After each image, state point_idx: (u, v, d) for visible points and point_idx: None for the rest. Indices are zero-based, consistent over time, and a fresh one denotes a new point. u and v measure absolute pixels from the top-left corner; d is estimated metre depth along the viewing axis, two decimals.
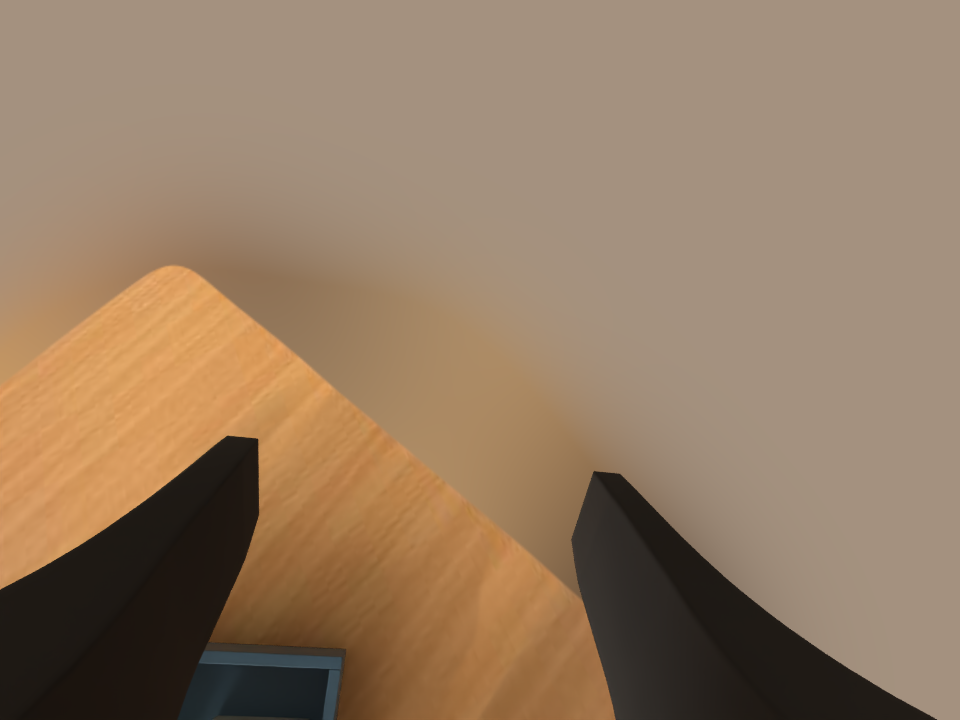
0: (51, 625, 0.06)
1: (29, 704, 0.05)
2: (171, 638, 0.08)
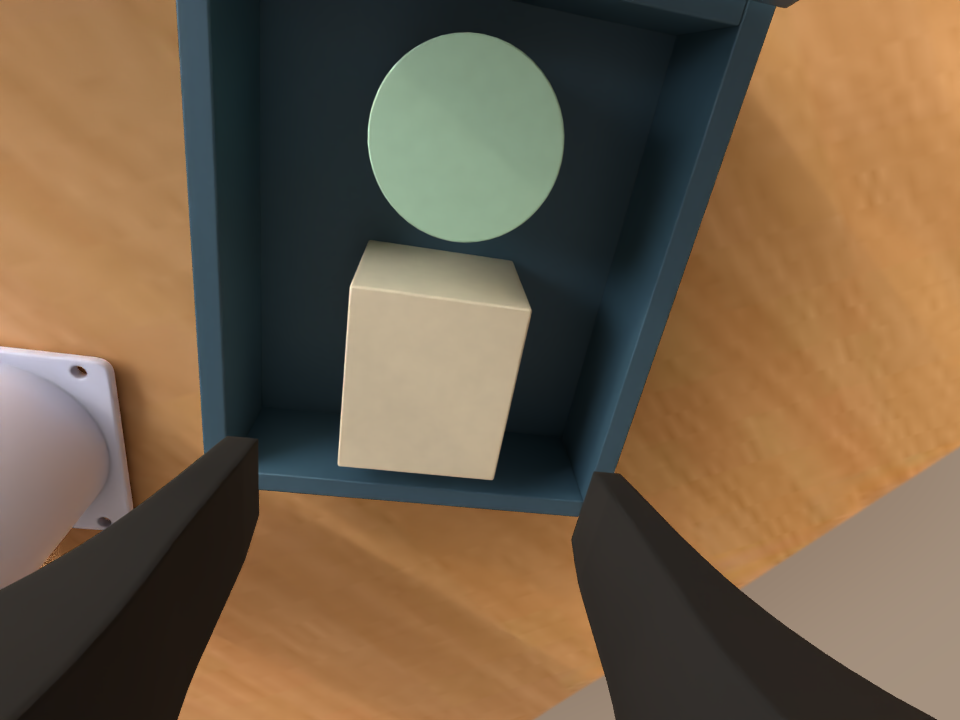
0: (50, 625, 0.06)
1: (29, 704, 0.05)
2: (171, 638, 0.08)
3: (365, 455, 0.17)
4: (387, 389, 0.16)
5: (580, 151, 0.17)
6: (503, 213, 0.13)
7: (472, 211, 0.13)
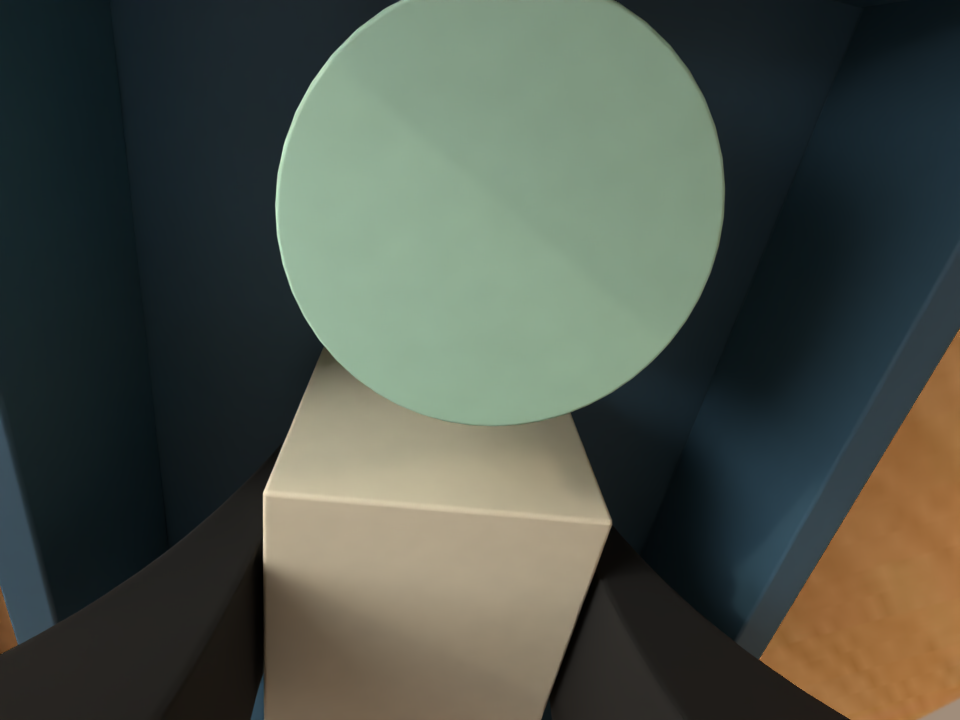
0: (160, 631, 0.06)
1: (163, 709, 0.05)
2: (250, 642, 0.08)
3: None
4: (344, 646, 0.09)
5: None
6: (577, 373, 0.06)
7: (513, 370, 0.06)
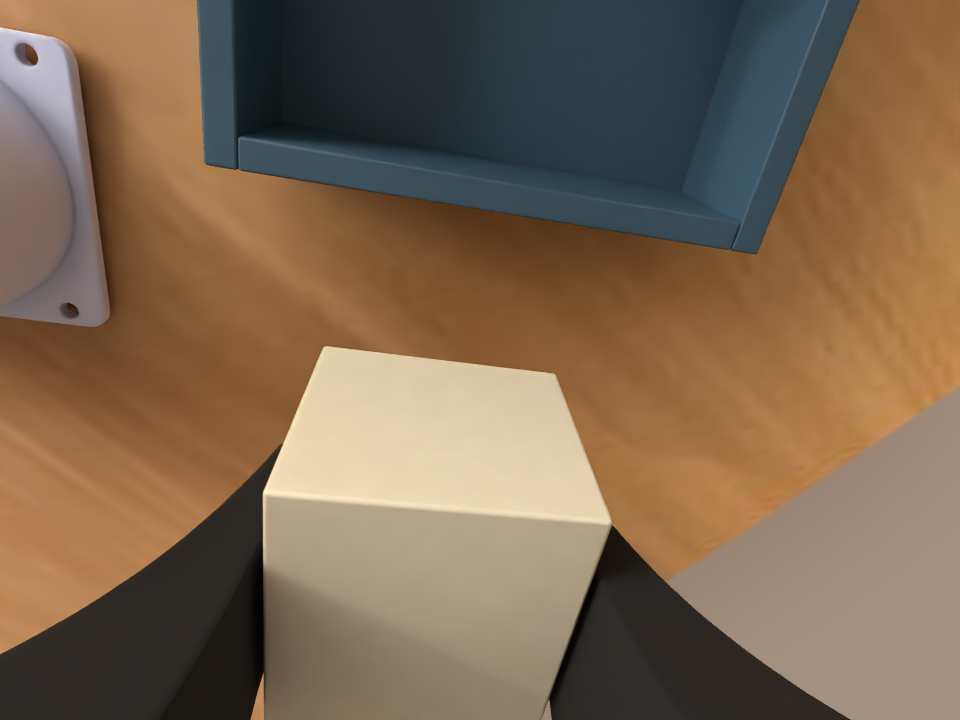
0: (160, 630, 0.06)
1: (163, 709, 0.05)
2: (250, 642, 0.08)
3: None
4: (344, 646, 0.09)
5: None
6: None
7: None
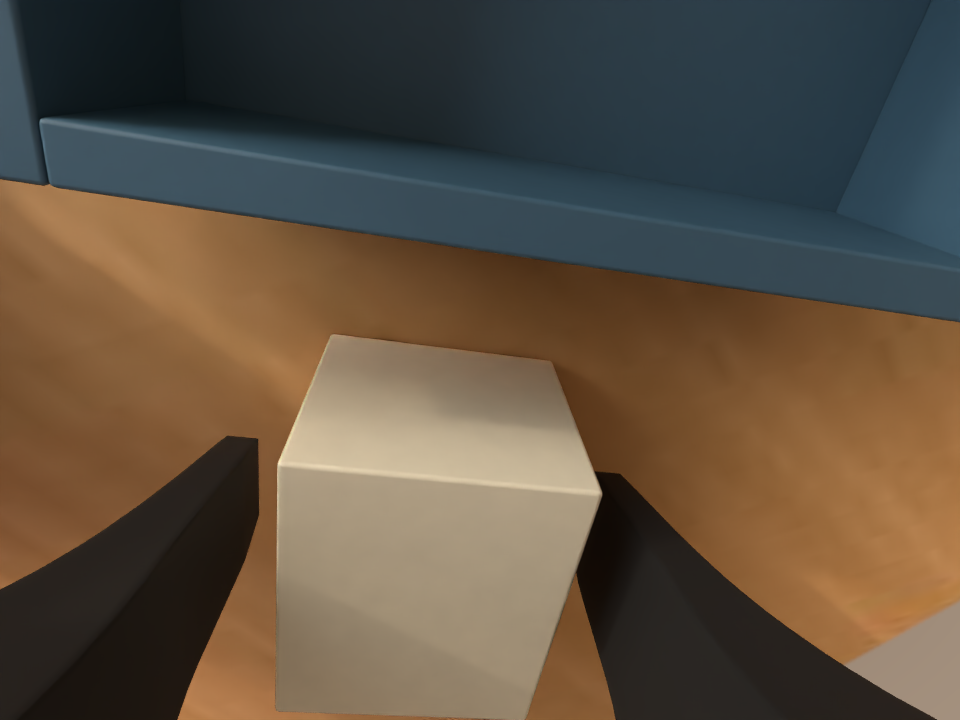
0: (51, 625, 0.06)
1: (29, 705, 0.05)
2: (171, 638, 0.08)
3: (319, 697, 0.10)
4: (351, 612, 0.09)
5: None
6: None
7: None
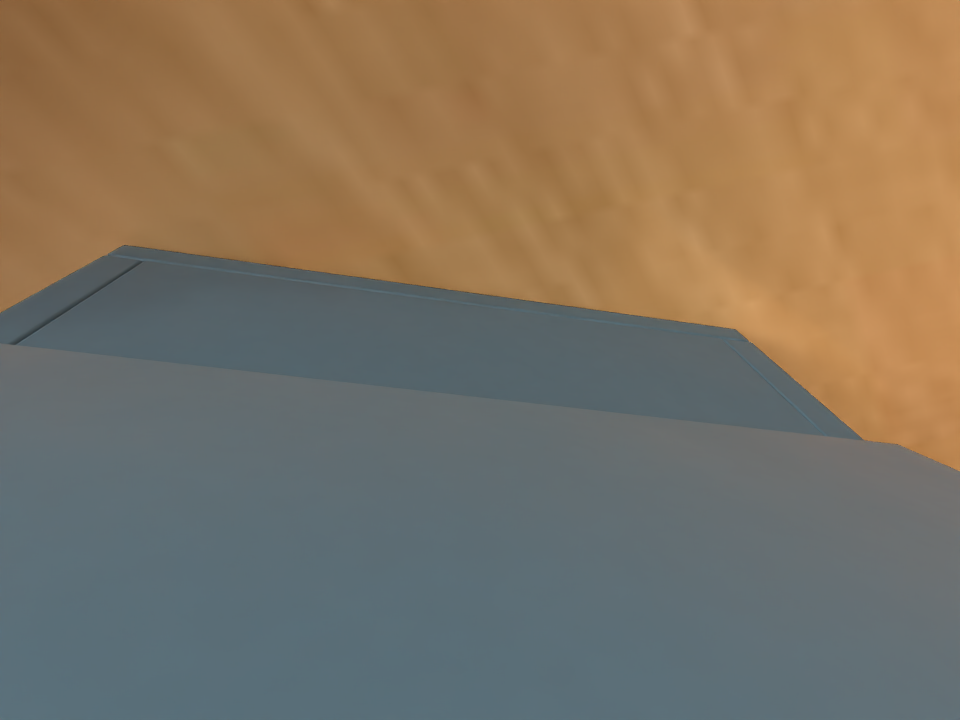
0: None
1: None
2: None
3: None
4: None
5: None
6: None
7: None
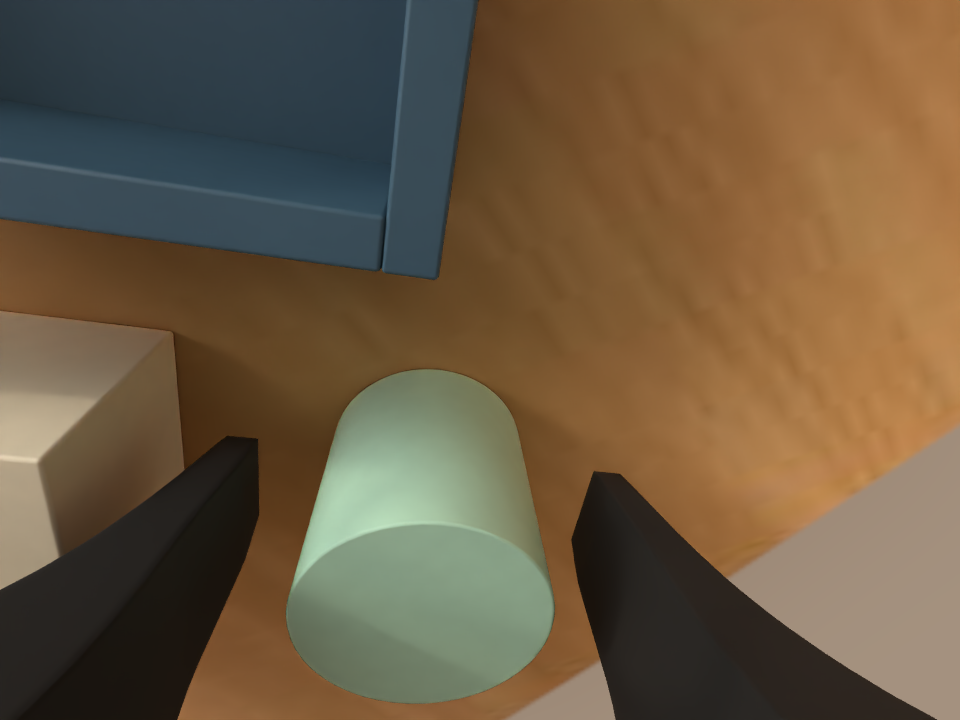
0: (52, 625, 0.06)
1: (30, 704, 0.05)
2: (171, 638, 0.08)
3: None
4: None
5: None
6: (474, 678, 0.10)
7: (433, 678, 0.10)
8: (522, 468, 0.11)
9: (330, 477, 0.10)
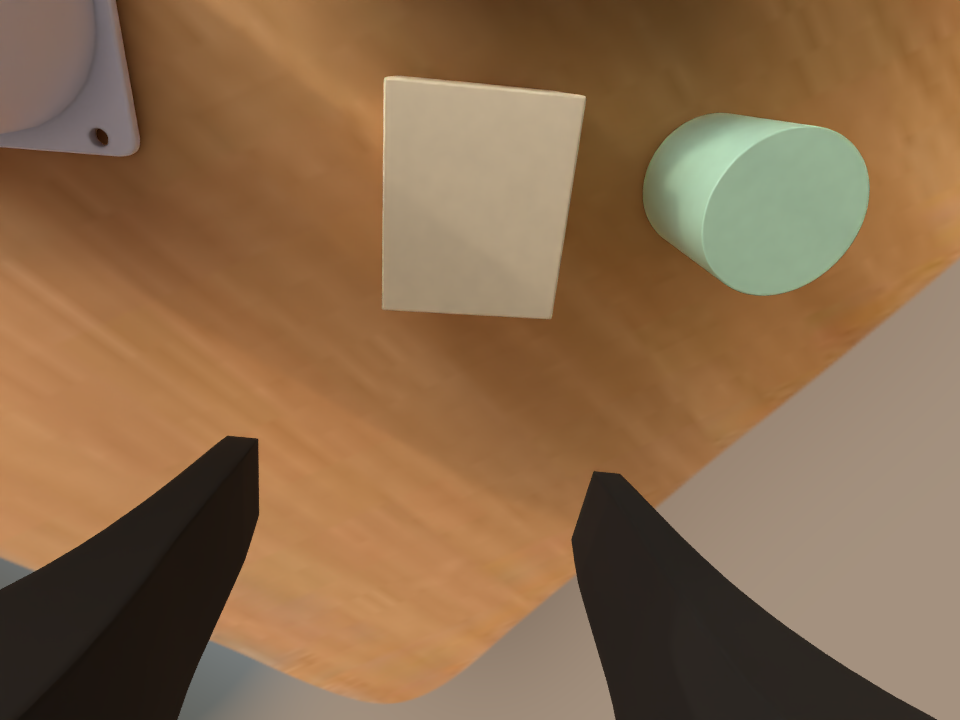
0: (51, 625, 0.06)
1: (29, 705, 0.05)
2: (171, 638, 0.08)
3: (411, 294, 0.15)
4: (431, 209, 0.14)
5: None
6: (806, 269, 0.15)
7: (780, 269, 0.15)
8: None
9: (693, 155, 0.16)
